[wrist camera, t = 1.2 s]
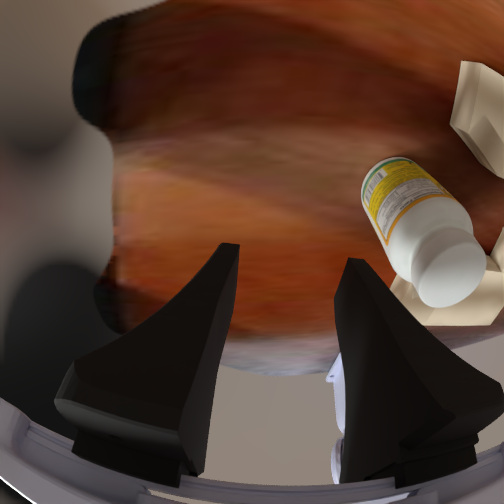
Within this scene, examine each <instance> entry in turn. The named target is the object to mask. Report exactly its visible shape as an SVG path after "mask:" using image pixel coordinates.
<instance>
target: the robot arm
mask: <svg viewBox="0 0 504 504" xmlns="http://www.w3.org/2000/svg"><path fill="white" fill-rule="evenodd" d="M239 249H240V245H239V244H231V243H221V244H220V245H219V246H218V248H217V249H216V251H215V252H214V253H213V255H212V256H211V257H210V259H209V260H208V261H207V262H206V264H205V265H204V266H203V267H202V268H201V269H200V270H199V272H198V273H197V274H196V275H195V276H194V277H193V278H192V279H191V281H190V282H189V283H188V284H187V285H186V286H185V287H184V288H183V289H182V290H181V291H180V292H179V293H178V294H177V295H175V296H174V297H173V298H172V299H171V300H170V301H169V302H168V303H166V304H165V305H164V306H163V307H162V308H161V309H159V310H158V311H157V312H156V313H154V314H153V315H152V316H150V317H149V318H148V319H146V320H145V321H144V322H142V323H141V324H139V325H138V326H136V327H135V328H133V329H132V330H130V331H129V332H127V333H125V334H124V335H122V336H120V337H119V338H118V339H116V340H114V341H112V342H111V343H109V344H107V345H105V346H103V347H101V348H99V349H97V350H95V351H93V352H91V353H89V354H87V355H84V356H82V357H80V358H78V359H75V360H74V362H73V363H72V365H71V367H70V368H69V370H68V372H67V373H66V375H65V377H64V380H63V382H62V384H61V386H60V389H59V391H58V393H57V395H56V398H55V400H54V403H55V405H56V408H57V410H58V411H59V412H60V413H61V414H62V415H63V416H64V417H65V418H66V419H67V420H68V421H69V422H70V423H71V424H73V426H75V427H76V428H77V429H78V432H77V435H76V438H75V441H72V440H70V439H67V438H66V437H63V436H61V435H59V434H57V433H55V432H53V431H51V430H48V429H46V428H44V427H42V426H40V425H39V424H37V423H35V422H33V421H31V420H30V419H29V418H28V417H27V416H26V415H25V414H24V413H23V412H21V411H20V410H19V409H17V408H16V407H14V406H13V405H11V404H9V403H7V402H6V401H5V400H3V399H1V398H0V478H1V479H2V480H3V481H4V482H6V483H7V484H8V485H9V486H11V487H12V488H13V489H15V490H16V491H17V492H18V493H20V494H21V495H22V496H24V497H25V498H26V499H28V500H30V501H31V502H32V503H34V504H187V503H182V502H178V501H174V500H170V499H166V498H162V497H158V496H155V495H151V493H150V491H149V490H148V489H150V490H154V491H158V492H162V493H166V494H171V495H176V496H180V497H185V498H190V499H196V500H202V501H209V502H215V503H222V504H504V442H502V443H501V444H500V445H498V446H495V447H493V448H491V449H488V450H486V451H483V452H481V453H478V454H476V452H475V447H474V445H475V444H476V443H478V441H479V438H478V434H477V433H478V432H480V431H481V430H483V429H484V428H485V427H486V426H488V425H489V424H491V423H492V422H493V421H495V420H496V419H497V418H498V417H500V416H501V415H502V414H503V412H504V393H503V389H502V387H501V384H500V383H499V382H497V381H495V380H494V379H492V378H490V377H489V376H487V375H485V374H484V373H482V372H480V371H479V370H477V369H475V368H474V367H472V366H471V365H470V364H468V363H467V362H465V361H464V360H462V359H461V358H460V357H459V356H457V355H456V354H455V353H453V352H452V351H451V350H450V349H449V348H447V347H446V346H445V345H444V344H443V343H441V342H440V341H439V340H438V339H437V338H436V337H434V336H433V335H432V334H431V333H430V332H429V331H428V330H427V329H426V328H425V327H424V326H423V325H422V324H421V323H420V322H419V321H418V320H417V319H416V318H415V317H414V316H413V315H412V314H411V313H410V312H409V311H408V309H407V308H406V307H405V306H404V305H403V304H402V303H401V302H400V301H399V299H398V298H397V297H396V296H395V295H394V294H393V292H392V291H391V290H390V289H389V288H388V287H387V285H386V284H385V283H384V282H383V281H382V279H381V278H380V277H379V276H378V275H377V274H376V272H375V271H374V270H373V269H372V268H371V267H370V265H369V264H368V263H367V262H366V261H365V260H364V259H357V258H348V260H347V263H346V266H345V269H344V272H343V275H342V278H341V280H340V283H339V286H338V289H337V291H336V294H335V297H334V310H335V324H336V330H337V335H338V341H339V347H340V353H339V355H338V357H337V359H336V361H335V363H334V364H333V366H332V368H331V370H330V372H329V373H328V375H327V377H326V381H327V382H333V383H334V394H335V407H336V419H337V424H338V427H339V429H340V430H341V432H342V433H343V436H344V437H342V438H339V439H338V440H337V441H336V443H335V445H334V446H333V449H332V454H331V470H332V476H333V481H334V483H335V484H332V485H312V486H278V485H276V486H275V485H257V484H244V483H234V482H225V481H217V480H210V479H204V478H198V475H200V474H201V473H203V472H204V467H205V458H206V450H207V442H208V434H209V427H210V419H211V412H212V405H213V398H214V391H215V385H216V378H217V372H218V367H219V363H220V359H221V355H222V352H223V348H224V344H225V340H226V336H227V333H228V329H229V325H230V321H231V317H232V314H233V308H234V301H235V295H236V287H237V274H238V261H239Z"/></svg>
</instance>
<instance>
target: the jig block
mask: <svg viewBox="0 0 504 504" xmlns="http://www.w3.org/2000/svg"><path fill="white" fill-rule="evenodd" d="M450 125H451V126H452V128H453V129H454V130H455V131H456V132H457V134H458V135H459V136H460V137H461V139H462V140H463V141H464V142H465V144H466V145H467V146H468V148H469V149H470V150H471V152H472V153H473V154H474V156H475V157H476V158H477V160H478V161H479V163H480V164H481V165H483V166H484V167H486V168H487V169H489V170H490V171H491V172H493V173H494V174H495V175H497V176H498V177H501V178H503V179H504V77H503V76H501V75H500V74H498V73H497V72H495V71H494V70H492V69H490V68H489V67H487V66H485V65H484V64H482V63H475V62H467V61H461V67H460V74H459V80H458V86H457V91H456V96H455V101H454V106H453V111H452V115H451V120H450ZM486 260H487V265H486V271H485V274H484V276H483V278H482V280H481V282H480V284H479V285H478V286H477V288H476V289H475V290H474V291H473V292H472V293H471V294H470V295H469V296H467V297H466V298H465V299H463V300H462V301H460V302H458V303H456V304H454V305H451V306H448V307H443V308H434V307H430V306H428V305H426V304H425V303H424V302H423V301H422V300H421V299H420V297H419V295H418V293H417V291H416V289H415V287H414V285H413V283H411V282H408V281H406V280H405V279H403V278H402V277H400V276H399V275H398V274H397V275H396V277H395V279H394V281H393V284H392V286H391V288H390V290H391V291H392V292H393V294H394V295H395V296H396V297H397V298H398V299H399V301H400V302H401V303H402V304H403V305H404V306H405V307H406V308H407V309H408V311H409V312H410V313H411V314H412V315H413V316H414V317H415V318H416V319H417V320H418V321H419V322H420V323H421V324H422V325H431V326H475V325H490V324H491V323H492V322H493V320H494V319H495V318H496V316H497V315H498V313H499V312H500V311H501V309H502V308H503V306H504V227H503V230H502V232H501V234H500V236H499V238H498V240H497V242H496V244H495V246H494V248H493V250H492V252H491V254H490V256H487V255H486Z"/></svg>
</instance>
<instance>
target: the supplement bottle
mask: <svg viewBox="0 0 504 504" xmlns="http://www.w3.org/2000/svg"><path fill="white" fill-rule="evenodd" d="M361 199H362V204H363V207H364V209H365V211H366V213H367V215H368V217H369V219H370V221H371V223H372V225H373V227H374V229H375V231H376V233H377V235H378V237H379V239H380V241H381V243H382V245H383V248H384V250H385V252H386V254H387V257H388V259H389V261H390V263H391V265H392V267H393V269H394V270H395V271H396V273H397V274H398V275H399V276H400V277H402V278H403V279H405V280H406V281H408V282H411V283H413V285H414V287H415V289H416V291H417V293H418V295H419V297H420V299H421V300H422V301H423V302H424V303H425V304H426V305H428V306H430V307H434V308H443V307H448V306H451V305H454V304H456V303H458V302H460V301H462V300H463V299H465V298H466V297H467V296H469V295H470V294H471V293H472V292H473V291H474V290H475V289H476V288H477V286H478V285H479V284H480V282H481V280H482V278H483V276H484V274H485V271H486V265H487V260H486V255H485V252H484V250H483V249H482V247H481V246H480V245H479V243H478V242H477V241H476V239H475V238H474V236H473V226H472V222H471V219H470V217H469V215H468V213H467V211H466V210H465V209H464V207H463V206H462V205H461V204H460V203H459V202H458V201H457V200H456V199H455V198H454V197H453V196H452V195H451V194H450V193H449V192H448V191H447V190H446V189H445V188H444V187H443V186H442V185H440V184H439V183H438V182H437V181H436V180H435V179H434V178H433V177H432V176H430V175H429V174H428V173H427V172H426V171H425V170H424V169H423V168H421V167H420V166H419V165H417V164H416V163H415V162H413V161H412V160H410V159H407V158H404V157H392V158H388V159H385V160H383V161H381V162H379V163H377V164H376V165H375V166H374V167H373V168H372V169H371V170H370V171H369V172H368V174H367V175H366V177H365V179H364V182H363V184H362V189H361Z"/></svg>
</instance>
